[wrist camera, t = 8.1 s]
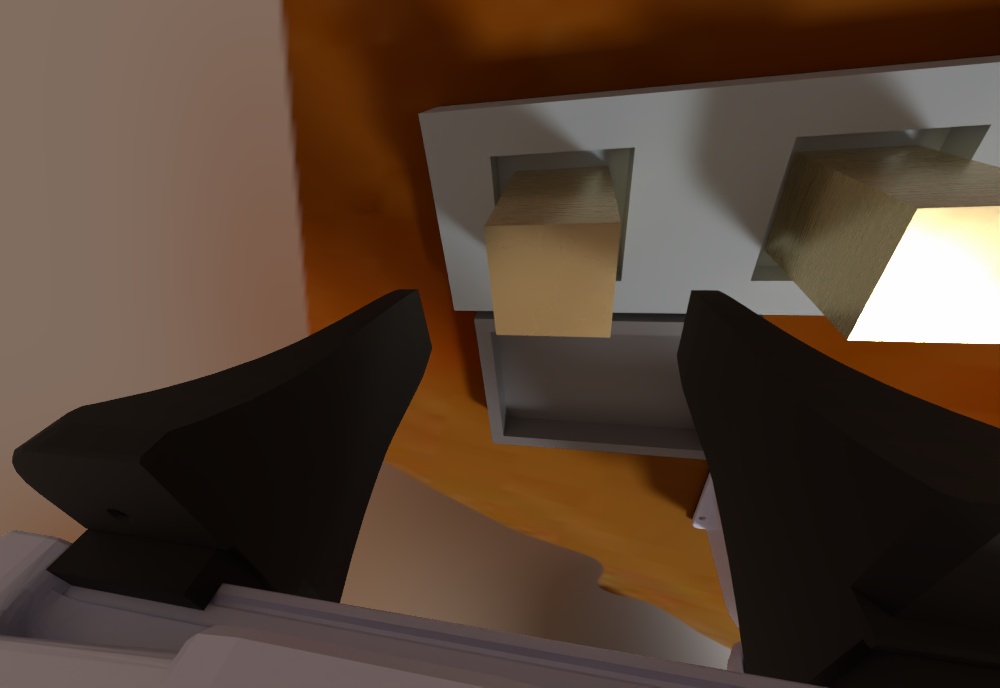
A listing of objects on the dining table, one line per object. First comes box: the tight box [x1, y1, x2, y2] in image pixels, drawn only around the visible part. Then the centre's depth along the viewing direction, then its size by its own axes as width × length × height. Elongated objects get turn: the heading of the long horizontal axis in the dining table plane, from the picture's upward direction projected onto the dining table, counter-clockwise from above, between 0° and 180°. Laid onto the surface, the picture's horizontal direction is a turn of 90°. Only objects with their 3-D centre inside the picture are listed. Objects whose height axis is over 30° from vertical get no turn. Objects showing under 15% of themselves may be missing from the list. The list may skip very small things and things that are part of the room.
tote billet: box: [484, 166, 621, 338], centre depth 15 cm, size 4×4×7 cm
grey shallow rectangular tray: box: [474, 311, 764, 460], centre depth 23 cm, size 10×14×2 cm
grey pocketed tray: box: [418, 55, 1000, 315], centre depth 17 cm, size 9×22×2 cm, turn 95°
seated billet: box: [764, 145, 1000, 344], centre depth 13 cm, size 4×4×7 cm
